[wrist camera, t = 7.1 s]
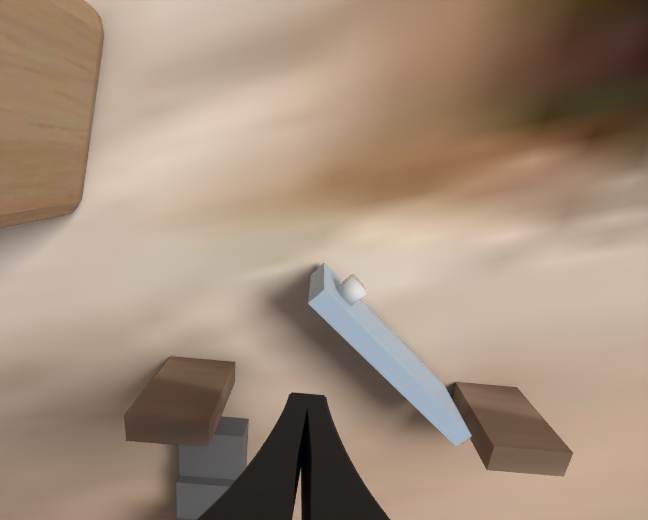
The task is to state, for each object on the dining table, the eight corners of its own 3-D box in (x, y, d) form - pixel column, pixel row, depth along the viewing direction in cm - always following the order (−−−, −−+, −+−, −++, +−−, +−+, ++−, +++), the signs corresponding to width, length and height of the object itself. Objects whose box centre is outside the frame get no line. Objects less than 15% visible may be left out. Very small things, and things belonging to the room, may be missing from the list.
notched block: (242, 533, 25) (221, 632, 20) (189, 529, 25) (153, 628, 20) (248, 418, 22) (225, 499, 17) (187, 413, 22) (144, 493, 17)
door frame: (510, 407, 22) (564, 476, 17) (170, 377, 21) (126, 440, 16) (517, 387, 21) (573, 453, 17) (170, 356, 21) (124, 415, 16)
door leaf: (431, 394, 21) (456, 446, 17) (311, 274, 19) (307, 303, 15) (457, 376, 21) (487, 425, 17) (337, 250, 18) (340, 274, 15)
